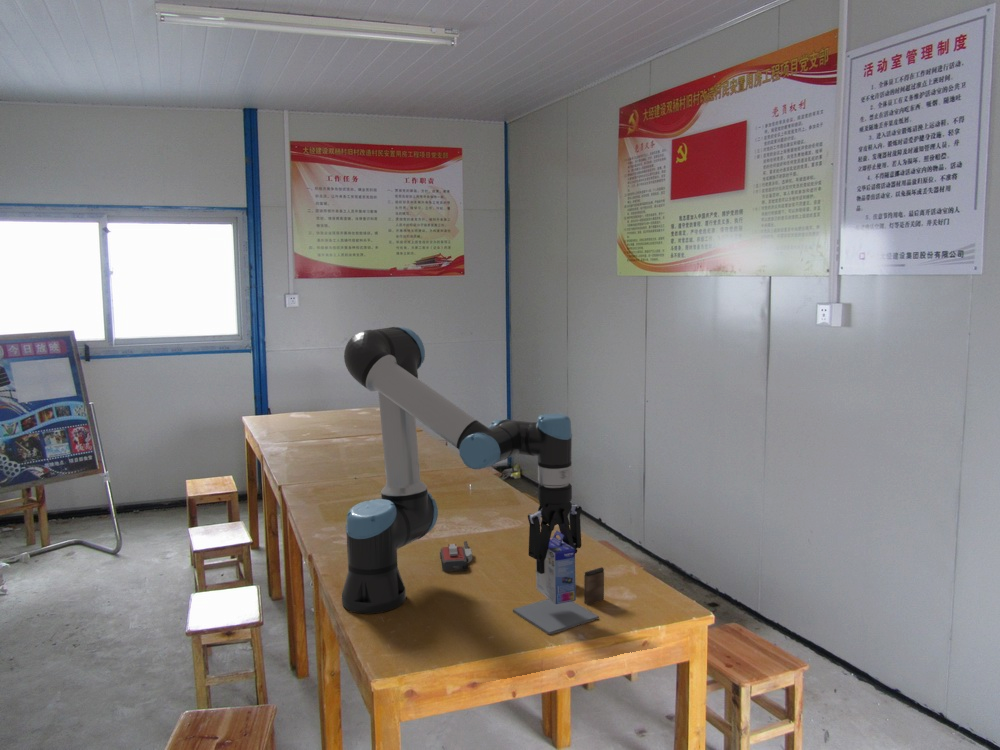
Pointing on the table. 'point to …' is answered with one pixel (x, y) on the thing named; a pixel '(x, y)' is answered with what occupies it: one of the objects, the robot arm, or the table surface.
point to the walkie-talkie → (455, 557)
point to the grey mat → (555, 615)
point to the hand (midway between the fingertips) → (555, 582)
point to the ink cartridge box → (559, 571)
